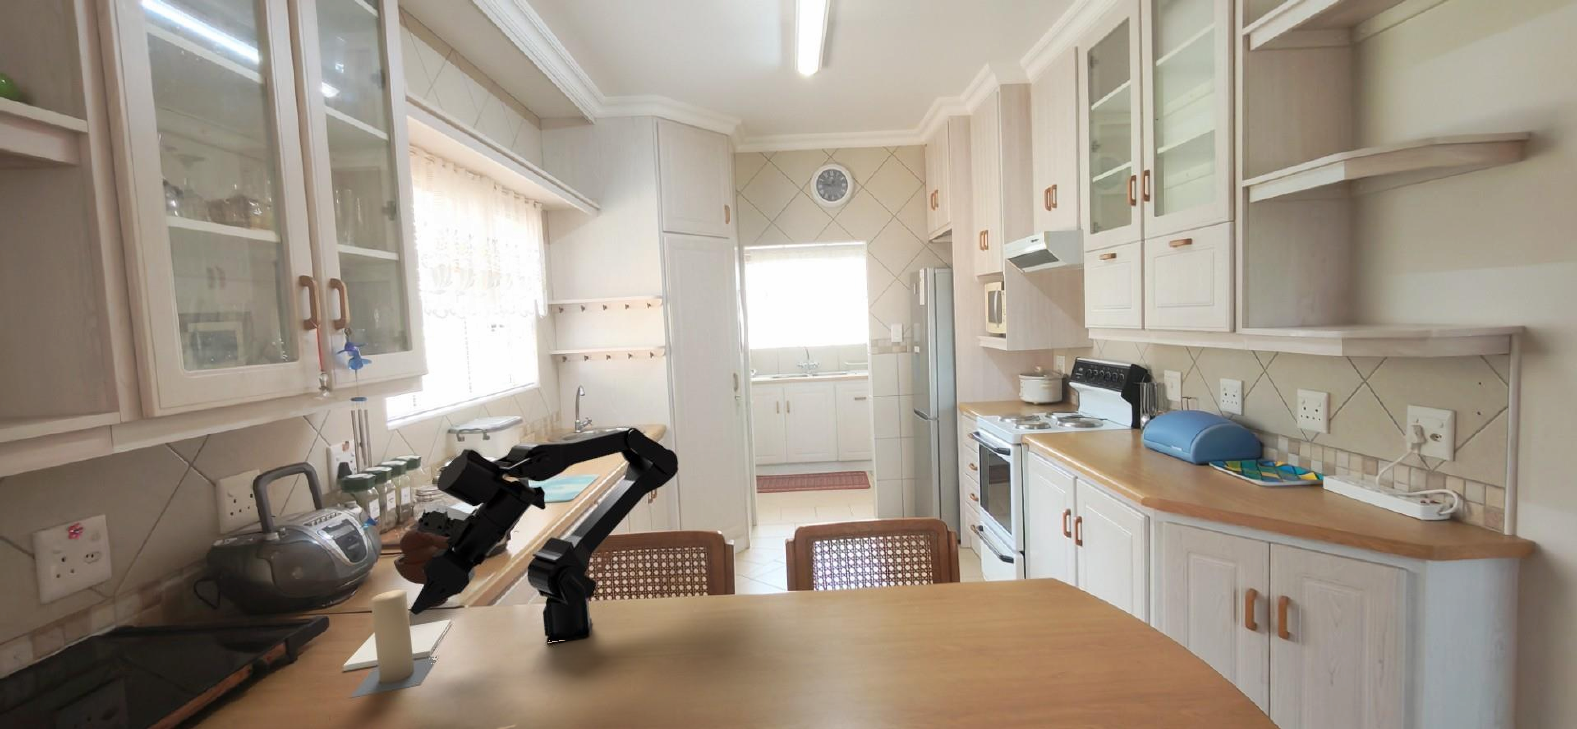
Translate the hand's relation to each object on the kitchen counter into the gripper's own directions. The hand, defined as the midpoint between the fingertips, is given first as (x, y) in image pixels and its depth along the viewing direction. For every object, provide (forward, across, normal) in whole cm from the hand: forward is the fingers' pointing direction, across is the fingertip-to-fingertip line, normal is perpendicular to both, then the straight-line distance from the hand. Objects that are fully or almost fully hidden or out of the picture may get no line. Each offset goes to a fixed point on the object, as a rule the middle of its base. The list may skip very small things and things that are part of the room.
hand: (423, 600), depth 94 cm
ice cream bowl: (+14, -30, +2) cm, 33 cm away
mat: (+11, 0, +4) cm, 12 cm away
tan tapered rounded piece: (+11, 0, +4) cm, 12 cm away
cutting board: (+13, -11, +2) cm, 17 cm away
